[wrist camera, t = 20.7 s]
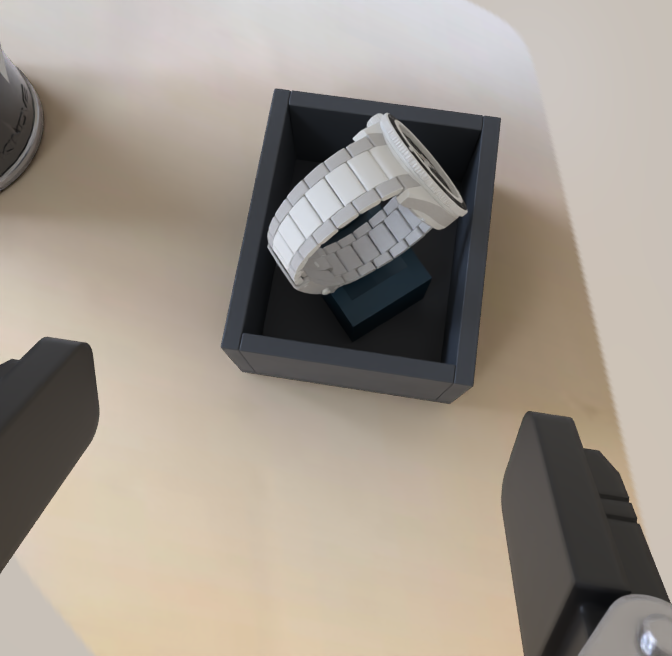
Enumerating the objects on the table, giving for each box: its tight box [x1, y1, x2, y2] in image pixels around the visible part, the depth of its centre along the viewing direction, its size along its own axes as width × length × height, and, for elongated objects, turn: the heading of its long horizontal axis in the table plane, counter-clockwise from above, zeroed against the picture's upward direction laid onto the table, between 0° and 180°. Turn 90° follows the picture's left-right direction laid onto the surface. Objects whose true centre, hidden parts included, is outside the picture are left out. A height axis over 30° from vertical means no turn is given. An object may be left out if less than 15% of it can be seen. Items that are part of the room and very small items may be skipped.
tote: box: [221, 89, 501, 404], centre depth 30 cm, size 11×13×6 cm
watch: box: [267, 113, 468, 342], centre depth 26 cm, size 6×8×11 cm
